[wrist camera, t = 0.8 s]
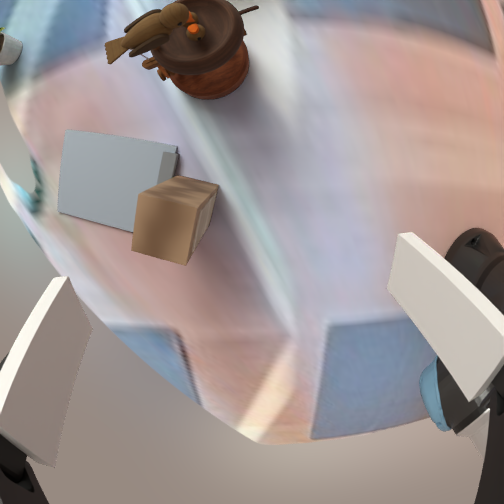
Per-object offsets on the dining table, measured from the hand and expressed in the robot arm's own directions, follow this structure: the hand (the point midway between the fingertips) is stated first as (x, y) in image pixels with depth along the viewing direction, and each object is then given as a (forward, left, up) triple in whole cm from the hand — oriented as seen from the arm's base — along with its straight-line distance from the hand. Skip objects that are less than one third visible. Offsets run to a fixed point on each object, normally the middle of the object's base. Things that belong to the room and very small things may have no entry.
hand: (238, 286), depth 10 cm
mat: (+21, +5, -30) cm, 37 cm away
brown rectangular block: (+8, +5, -30) cm, 31 cm away
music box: (+10, -15, -30) cm, 35 cm away
